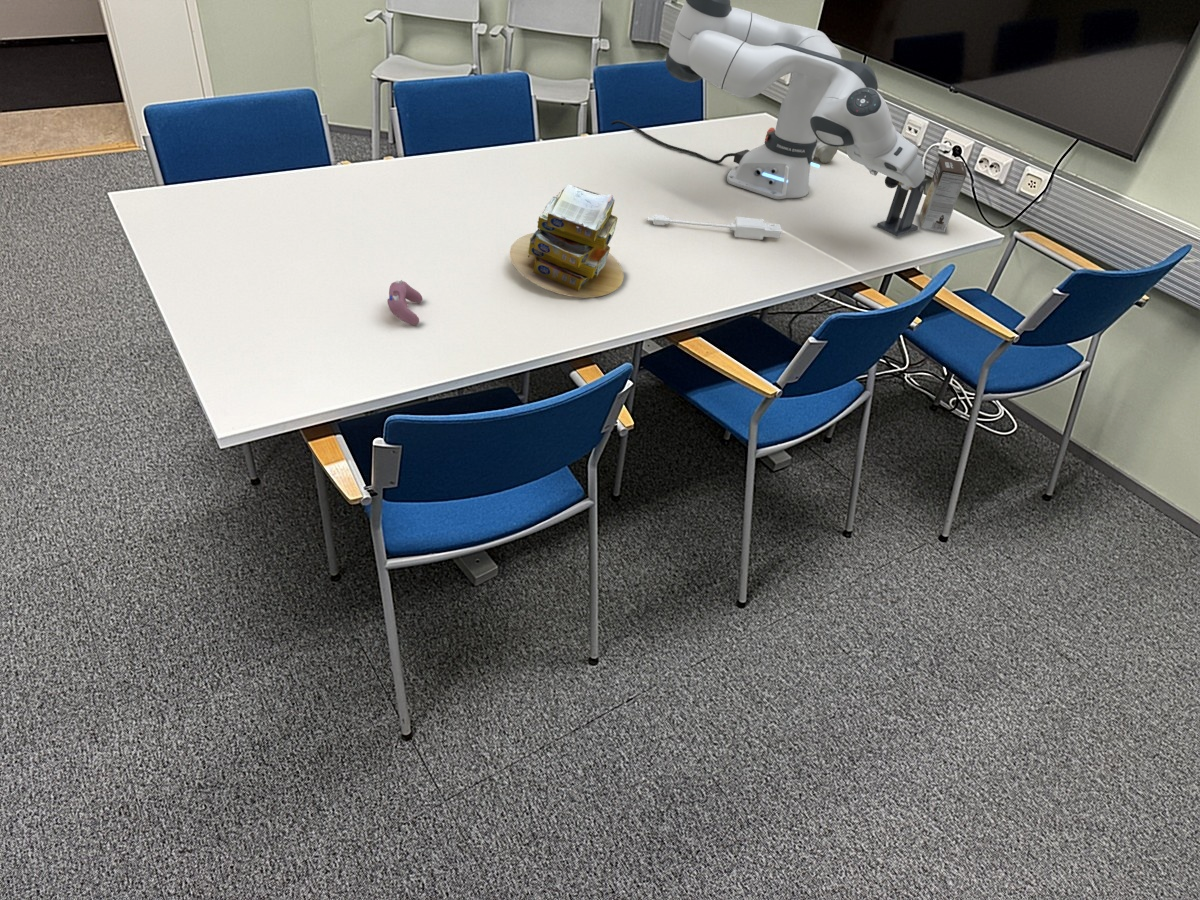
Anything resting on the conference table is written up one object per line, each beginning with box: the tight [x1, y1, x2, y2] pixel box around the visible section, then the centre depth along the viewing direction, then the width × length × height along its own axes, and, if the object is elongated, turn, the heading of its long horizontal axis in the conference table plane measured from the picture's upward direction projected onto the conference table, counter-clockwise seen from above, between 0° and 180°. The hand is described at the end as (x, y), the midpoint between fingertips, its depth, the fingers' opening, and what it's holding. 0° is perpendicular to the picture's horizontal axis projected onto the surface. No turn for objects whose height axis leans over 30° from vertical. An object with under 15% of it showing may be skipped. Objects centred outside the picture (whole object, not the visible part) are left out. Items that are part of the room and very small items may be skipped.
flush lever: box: [884, 176, 912, 191], centre depth 216 cm, size 13×3×3 cm, turn 131°
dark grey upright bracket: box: [876, 177, 928, 237], centre depth 222 cm, size 9×6×14 cm
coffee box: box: [918, 157, 968, 233], centre depth 226 cm, size 9×6×16 cm
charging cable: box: [646, 214, 783, 241], centre depth 213 cm, size 5×32×3 cm, turn 86°
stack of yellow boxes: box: [509, 183, 625, 298], centre depth 184 cm, size 25×25×17 cm
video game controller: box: [387, 279, 423, 326], centre depth 168 cm, size 10×5×7 cm, turn 5°
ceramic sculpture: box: [814, 138, 839, 164], centre depth 260 cm, size 11×9×15 cm
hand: (890, 179), depth 212 cm, fingers open, 8 cm apart
